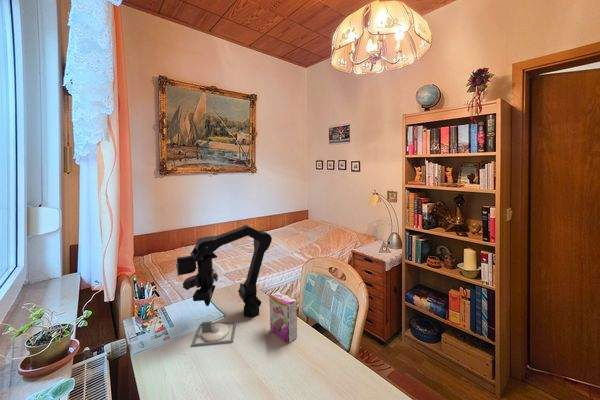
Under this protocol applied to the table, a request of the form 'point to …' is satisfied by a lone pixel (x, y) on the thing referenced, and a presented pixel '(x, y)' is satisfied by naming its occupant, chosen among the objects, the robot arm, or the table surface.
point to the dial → (214, 331)
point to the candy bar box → (283, 316)
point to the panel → (215, 341)
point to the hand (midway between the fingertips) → (207, 305)
